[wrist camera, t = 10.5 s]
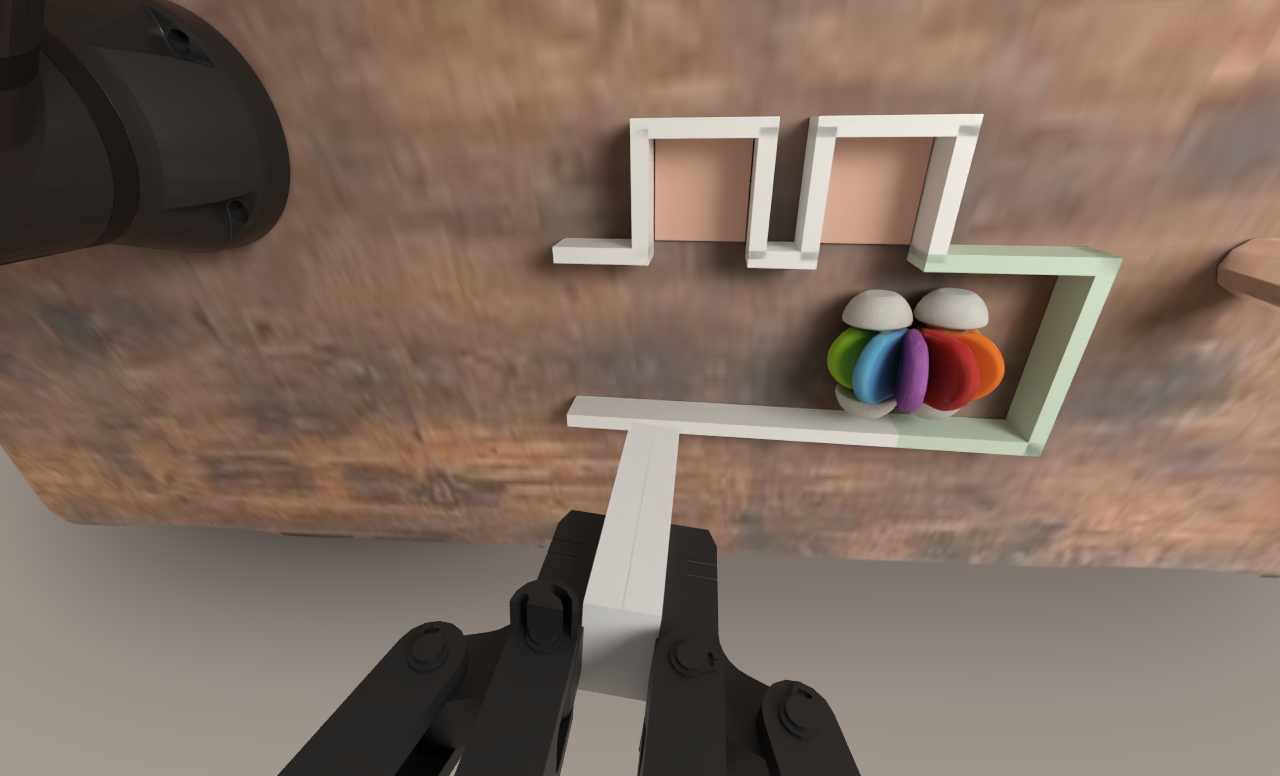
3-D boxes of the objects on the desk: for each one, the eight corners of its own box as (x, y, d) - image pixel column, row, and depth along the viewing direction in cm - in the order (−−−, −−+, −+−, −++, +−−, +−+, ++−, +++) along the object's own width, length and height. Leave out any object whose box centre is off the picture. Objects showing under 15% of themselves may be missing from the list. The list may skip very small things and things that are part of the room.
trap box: (577, 406, 40) (567, 426, 37) (556, 120, 31) (541, 119, 28) (1016, 432, 36) (1039, 456, 33) (1139, 113, 27) (1184, 111, 24)
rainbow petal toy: (958, 399, 36) (1011, 459, 29) (815, 398, 37) (836, 454, 31) (988, 281, 32) (1056, 318, 26) (828, 284, 33) (854, 320, 27)
